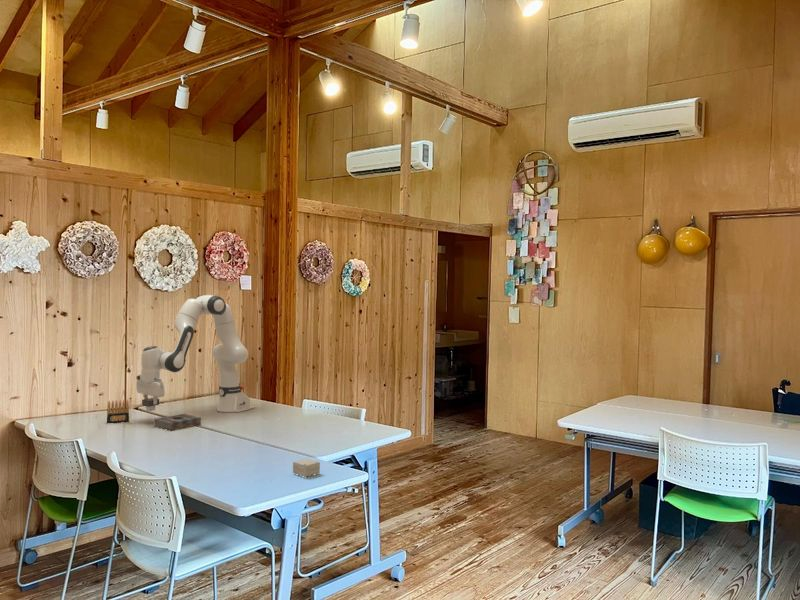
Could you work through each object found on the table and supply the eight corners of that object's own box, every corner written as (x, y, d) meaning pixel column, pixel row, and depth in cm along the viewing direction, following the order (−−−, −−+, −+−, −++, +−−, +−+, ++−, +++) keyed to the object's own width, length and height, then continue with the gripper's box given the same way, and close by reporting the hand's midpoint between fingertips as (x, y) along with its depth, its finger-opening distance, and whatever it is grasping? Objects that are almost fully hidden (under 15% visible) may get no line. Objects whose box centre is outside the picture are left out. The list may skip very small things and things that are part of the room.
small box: (307, 470, 257) (307, 457, 257) (320, 474, 252) (320, 461, 252) (292, 474, 251) (292, 461, 251) (305, 478, 246) (305, 465, 246)
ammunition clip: (128, 421, 335) (129, 399, 335) (129, 422, 334) (129, 399, 333) (106, 423, 330) (106, 400, 329) (107, 424, 328) (107, 401, 328)
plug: (153, 408, 337) (153, 397, 337) (159, 409, 334) (159, 399, 333) (142, 410, 332) (142, 399, 331) (148, 412, 328) (148, 401, 328)
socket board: (184, 421, 339) (184, 412, 339) (200, 425, 331) (200, 416, 331) (154, 426, 325) (154, 417, 325) (170, 431, 317) (170, 421, 316)
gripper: (167, 378, 328) (167, 404, 329) (144, 374, 340) (145, 400, 341) (156, 380, 323) (156, 406, 324) (134, 376, 335) (134, 401, 336)
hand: (150, 403), depth 332 cm, fingers closed on plug, 5 cm apart
